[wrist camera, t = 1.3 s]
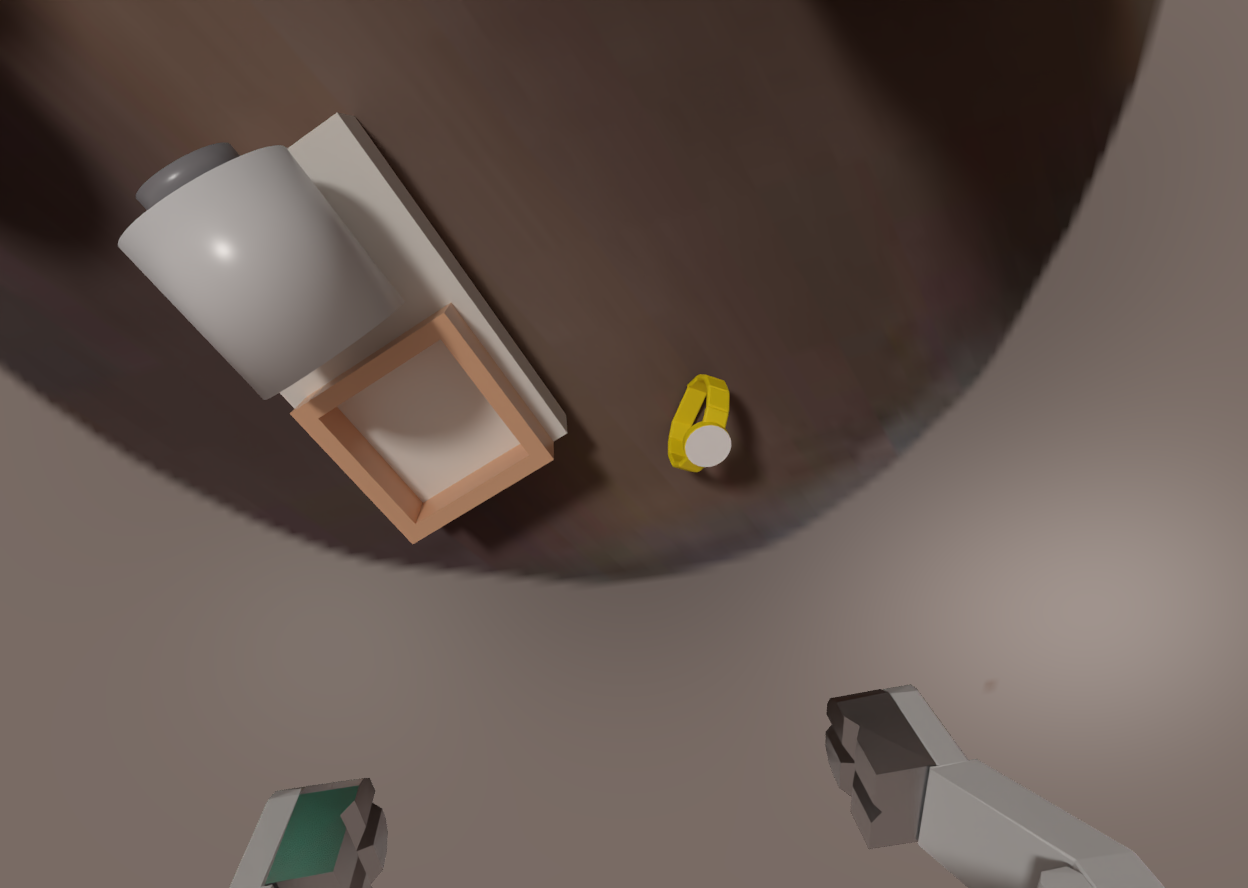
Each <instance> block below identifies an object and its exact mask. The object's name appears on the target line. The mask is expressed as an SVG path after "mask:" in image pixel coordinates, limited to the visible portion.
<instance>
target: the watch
mask: <svg viewBox="0 0 1248 888" xmlns="http://www.w3.org/2000/svg"><path fill="white" fill-rule="evenodd" d="M706 395H707V400H706V409H705V413H704V417H703V421H702V422H699V423H697V424H694V425H693V423H694V420H695V418H696V416H697V414H698V412H699V410H700V408H701V406H702V404H703V401H704V399H705V397H706ZM729 400H730V394H729V390H728V388H727V386H726V383H725V381H723V380H720V379H717V378H714V377H711V376H708V375H702V374H699V375H697V376H696V377H695V378H694V379H693V380H692V381H691V382H690V383H689V384H688V385H687V390H686V392H685V394H684V396H683V398H682V401H681V403H680V405H679V407H678V409H677V412H676V414H675V416H674V418H673V420H672V423H671V428H670V433H669V440H668V457H669V459H670V462H671V464H672V466H673V467H676V468H679V469H683V470H686V471H690V472H699V471H701V470H702V469H703V468H704V467H711V466H714V465H717V464H719V463H721V462H722V461H723V460H724V459H725V458H726V457H727V455H728V454H729V452H730V449H731V439H730V436H729V434H728V432H727V430H726V429H725V427H726V423H727V419H728V415H729V414H728V412H729ZM692 425H693V426H692Z"/></svg>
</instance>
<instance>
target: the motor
mask: <svg viewBox="0 0 1248 888" xmlns="http://www.w3.org/2000/svg"><path fill="white" fill-rule="evenodd" d="M136 199H137V200H138V201H139V202H140V203H141V204H142V205H143V206H144V207H145V209H146V210H147V211H146V212H145V213H143V214H142V215H141V216H140V217H139V218H138V219H136V220H135V221H134V222H133V223H132V224H131V225H130V226H129V227H128V228H127V229H126V230H125V232H124V233H123V234H122V236H121V237H120V239H119V241H118V246H119V248H120V249H121V250H122V251H123V252H124V253H125V254H126V255H127V256H128V257H129V258H130V260H131V261H132V262H133V263H134V264H135V265H136V266H137V267H138V268H139V269H140V270H141V271H142V272H143V273H144V274H145V275H146V276H147V277H148V278H149V279H150V281H151V282H152V283H153V284H154V285H155V286H156V287H157V288H158V289H159V290H160V291H161V292H162V293H163V294H164V295H165V296H166V297H167V298H168V299H169V300H170V302H171V303H172V304H173V305H174V306H175V307H176V308H177V309H178V310H179V311H180V312H181V313H182V314H183V315H184V316H185V317H186V318H187V319H188V320H189V322H190V323H191V324H192V325H193V326H194V327H195V328H196V329H197V330H198V331H199V332H200V333H201V334H202V335H203V336H204V337H205V338H206V339H207V340H208V341H209V343H210V344H211V345H212V346H213V347H214V348H215V349H216V350H217V351H218V352H219V353H220V354H221V355H222V356H223V357H224V358H225V359H226V360H227V361H228V362H229V364H230V365H231V366H232V367H233V368H234V369H235V370H236V371H237V372H238V373H239V374H240V375H241V376H242V377H243V378H244V379H245V380H246V381H247V382H248V383H249V385H250V386H251V387H252V388H253V389H254V390H255V391H256V392H257V393H258V394H259V395H260V396H261V397H262V398H263V399H264V400H266V399H269V398H271V397H273V396H274V395H276V394H278V393H280V394H281V395H282V396H283V397H284V398H285V399H286V400H287V401H288V402H289V403H290V404H291V405H292V406H293V408H294V410H293V411H292V412H291V413H290V414H291V416H292V417H293V418H294V419H295V420H296V421H297V422H298V423H299V424H300V425H301V426H302V427H303V428H304V429H305V430H306V431H307V433H308V434H309V435H310V436H311V437H312V438H313V439H314V440H315V441H316V442H317V443H318V444H319V445H320V446H321V447H322V448H323V450H324V451H325V452H326V453H327V454H328V455H329V456H330V457H331V458H332V459H333V460H334V461H335V462H336V463H337V464H338V465H339V467H340V468H341V469H342V470H343V471H344V472H345V473H346V474H347V475H348V476H349V477H350V478H351V479H352V480H353V481H354V482H355V484H356V485H357V486H358V487H359V488H360V489H361V490H362V491H363V492H364V493H365V494H366V495H367V496H368V497H369V498H370V499H371V501H372V502H373V503H374V504H375V505H376V506H377V507H378V508H379V509H380V510H381V511H382V512H383V513H384V514H385V515H386V516H387V518H388V519H389V520H390V521H391V522H392V523H393V524H394V525H395V526H396V527H397V528H398V529H399V530H400V531H401V532H402V533H403V535H404V536H405V537H406V538H407V539H408V540H409V541H410V542H411V543H412V544H414V543H416V542H417V541H419V540H421V539H422V538H424V537H426V536H427V535H429V534H431V533H432V532H434V531H436V530H437V529H439V528H441V527H442V526H444V525H446V524H447V523H449V522H451V521H452V520H454V519H456V518H457V517H459V516H461V515H462V514H464V513H466V512H467V511H469V510H471V509H472V508H474V507H476V506H477V505H479V504H481V503H482V502H484V501H486V500H487V499H489V498H491V497H492V496H494V495H496V494H497V493H499V492H501V491H502V490H504V489H506V488H507V487H509V486H511V485H512V484H514V483H516V482H517V481H519V480H521V479H522V478H524V477H526V476H527V475H529V474H531V473H532V472H534V471H536V470H537V469H539V468H541V467H542V466H544V465H546V464H547V463H549V462H551V461H552V460H554V441H555V440H557V439H559V438H560V437H562V436H564V435H565V434H567V420H566V414H565V412H564V411H563V410H562V408H561V407H560V405H559V404H558V403H557V401H556V400H555V398H554V397H553V396H552V394H551V393H550V391H549V390H548V388H547V387H546V386H545V384H544V383H543V381H542V380H541V379H540V377H539V376H538V374H537V373H536V372H535V370H534V369H533V367H532V366H531V364H530V363H529V362H528V360H527V359H526V357H525V356H524V355H523V353H522V352H521V350H520V349H519V348H518V346H517V345H516V343H515V342H514V340H513V339H512V338H511V336H510V335H509V333H508V332H507V331H506V329H505V328H504V326H503V325H502V324H501V322H500V321H499V319H498V318H497V316H496V315H495V314H494V312H493V311H492V309H491V308H490V307H489V305H488V304H487V302H486V301H485V300H484V298H483V297H482V295H481V294H480V292H479V291H478V290H477V288H476V287H475V285H474V284H473V283H472V281H471V280H470V278H469V277H468V276H467V274H466V273H465V271H464V270H463V268H462V267H461V266H460V264H459V263H458V261H457V260H456V259H455V257H454V256H453V254H452V253H451V252H450V250H449V249H448V247H447V246H446V244H445V243H444V242H443V240H442V239H441V237H440V236H439V235H438V233H437V232H436V230H435V229H434V228H433V226H432V225H431V223H430V222H429V220H428V219H427V218H426V216H425V215H424V213H423V212H422V211H421V209H420V208H419V206H418V205H417V204H416V202H415V201H414V199H413V198H412V196H411V195H410V194H409V192H408V191H407V189H406V188H405V187H404V185H403V184H402V182H401V181H400V180H399V178H398V177H397V175H396V174H395V172H394V171H393V170H392V168H391V167H390V165H389V164H388V163H387V161H386V160H385V158H384V157H383V156H382V154H381V153H380V151H379V150H378V148H377V147H376V146H375V144H374V143H373V141H372V140H371V139H370V137H369V136H368V134H367V133H366V132H365V130H364V129H363V127H362V126H361V124H360V123H359V122H358V120H357V119H356V117H355V116H351V115H346V114H341V113H336V114H334V115H333V116H332V117H330V118H329V119H328V120H326V121H325V122H323V123H322V124H321V125H319V126H318V127H317V128H315V129H314V130H312V131H311V132H310V133H308V134H307V135H305V136H304V137H303V138H301V139H300V140H299V141H297V142H296V143H294V144H293V145H292V146H290V147H289V148H288V149H287V148H286V147H284V146H280V145H278V146H270V147H265V148H261V149H258V150H255V151H252V152H249V153H247V154H244V155H242V156H239V154H238V153H237V152H236V151H235V149H234V148H233V147H232V146H231V144H229V143H217V144H213V145H209V146H206V147H203V148H201V149H198V150H196V151H194V152H191V153H189V154H187V155H185V156H183V157H181V158H180V159H178V160H176V161H174V162H173V163H171V164H169V165H168V166H166V167H165V168H163V169H162V170H160V171H159V172H157V173H156V174H155V175H153V176H152V177H151V178H150V179H148V180H147V181H146V182H145V183H144V184H143V185H142V186H141V187H140V189H139V190H138V192H137V194H136Z"/></svg>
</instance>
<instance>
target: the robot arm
mask: <svg viewBox="0 0 1248 888" xmlns="http://www.w3.org/2000/svg"><path fill="white" fill-rule="evenodd" d="M827 716H828V717H829V720H830V721H831V724H832V725H831V726H830V727H829V729H828V730H827V731H826V751H827V756H828V761H829V764H830V767H831V770H832V773H833V775H834V778H835V780H836V782H837V784H838V786H839V788H840V789H842V790H843V791H844V792H846V793H847V794H848V795H850V796H851V797H852V800H851V814H852V816H853V818H854V820H855V822H856V824H857V826H858V828H859V830H860V832H861V834H862V836H863V838H864V840H865V842H866V845H867V847H868V849H873V848H880V847H885V846H892V845H899V844H906V843H912V842H918V845H919V846H920V847H922V849H924V850H925V851H926V852H927V853H928V854H930V855H931V856H932V857H933V858H934V859H935V860H936V861H938V862H939V863H940V864H941V865H942V866H943V867H945V868H946V869H947V870H948V871H949V872H950V873H952V874H953V875H954V876H955V877H956V878H957V879H959V880H960V881H961V882H962V883H963V884H965V886H967V887H968V888H1165V887H1164V886H1163V885H1162V884H1161V882H1160V881H1159V880H1158V879H1157V878H1156V877H1155V875H1154V874H1153V873H1152V872H1151V871H1150V870H1149V868H1147V866H1146V865H1145V864H1144V863H1143V862H1142V861H1141V859H1140V858H1139V857H1138V856H1137V855H1136V853H1135V852H1134V851H1132V850H1130V849H1129V848H1127V847H1125V846H1123V845H1122V844H1120V843H1118V842H1117V841H1115V840H1113V839H1112V838H1110V837H1108V836H1106V835H1105V834H1103V833H1102V832H1100V831H1098V830H1096V829H1095V828H1093V827H1091V826H1090V825H1088V824H1086V823H1084V822H1083V821H1081V820H1079V819H1078V818H1076V817H1074V816H1073V815H1071V814H1069V813H1068V812H1066V811H1064V810H1063V809H1061V808H1059V807H1057V806H1056V805H1054V804H1052V803H1051V802H1049V801H1047V800H1046V799H1044V798H1042V797H1041V796H1039V795H1037V794H1035V793H1034V792H1032V791H1030V790H1029V789H1027V788H1025V787H1024V786H1022V785H1020V784H1018V783H1017V782H1015V781H1013V780H1012V779H1010V778H1008V777H1006V776H1005V775H1003V774H1001V773H1000V772H998V771H996V770H995V769H993V768H991V767H990V766H988V765H986V764H984V763H983V762H981V761H979V760H978V759H973V760H968V759H967V757H966V756H965V754H964V753H963V752H962V750H961V749H960V748H959V746H958V745H957V744H956V742H955V741H954V739H953V738H952V737H951V735H950V734H949V733H948V731H947V730H946V728H945V727H944V726H943V724H942V723H941V722H940V720H939V719H938V717H937V716H936V715H935V713H934V712H933V710H932V709H931V708H930V706H929V705H928V704H927V702H926V701H925V700H924V698H923V697H922V695H921V694H920V693H919V691H918V690H917V689H916V688H915V687H913V686H912V685H905V686H899V687H893V688H887V689H883V690H881V689H879V690H873V691H868V692H862V693H857V694H851V695H847V696H841V697H835V698H830V700H829V701H828V704H827ZM374 794H375V789H374V787H373V785H372V782H371V780H370V778H362V779H354V780H347V781H340V782H333V783H326V784H319V785H312V786H306V787H299V788H293V789H286V790H280V791H276V792H275V793H274V794H273V795H272V796H271V797H270V799H269V800H268V801H267V803H266V805H265V808H264V810H263V812H262V815H261V817H260V819H259V821H258V824H257V826H256V828H255V830H254V833H253V835H252V837H251V840H250V842H249V844H248V846H247V849H246V851H245V853H244V855H243V858H242V860H241V862H240V865H239V867H238V869H237V871H236V874H235V876H234V878H233V881H232V883H231V885H230V888H372V886H371V883H372V882H373V881H374V880H375V878H376V877H377V876H378V875H379V874H380V873H381V871H382V870H383V867H384V862H385V857H386V852H387V835H388V831H387V824H386V818H385V815H384V812H383V810H382V808H380V807H379V806H377V805H375V804H374V803H372V801H373V798H374Z"/></svg>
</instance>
